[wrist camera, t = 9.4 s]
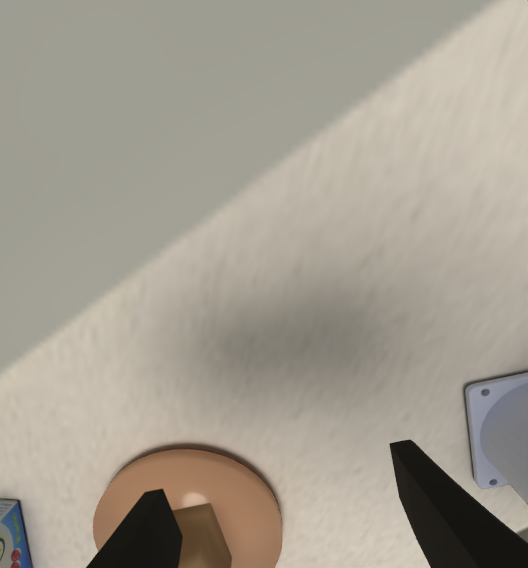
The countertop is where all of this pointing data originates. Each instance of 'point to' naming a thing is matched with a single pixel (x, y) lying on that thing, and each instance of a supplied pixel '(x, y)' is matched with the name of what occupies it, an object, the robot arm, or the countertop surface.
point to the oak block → (201, 538)
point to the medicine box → (12, 537)
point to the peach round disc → (200, 500)
